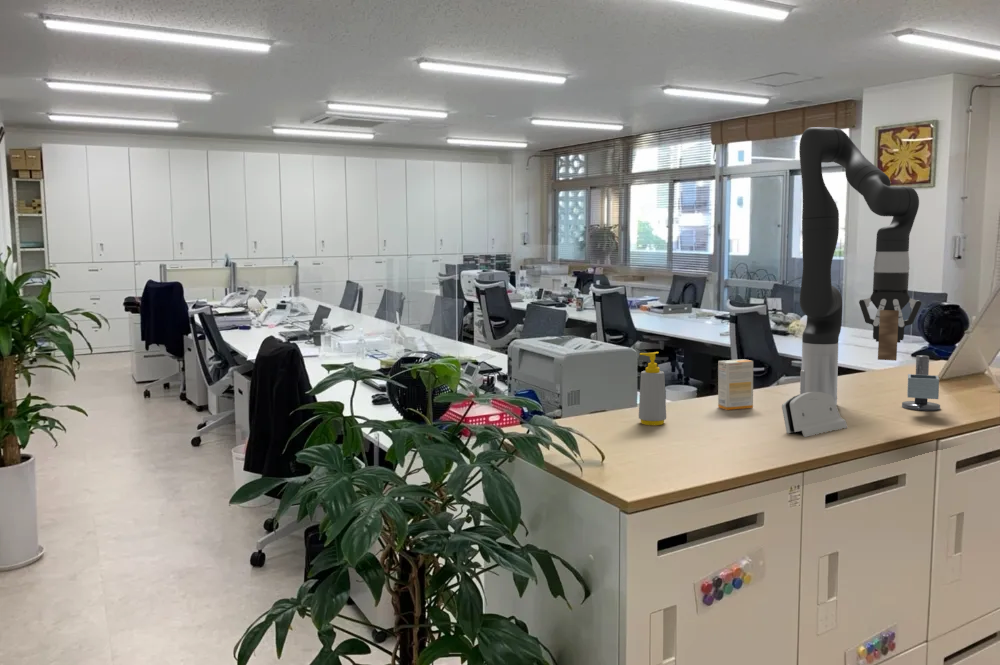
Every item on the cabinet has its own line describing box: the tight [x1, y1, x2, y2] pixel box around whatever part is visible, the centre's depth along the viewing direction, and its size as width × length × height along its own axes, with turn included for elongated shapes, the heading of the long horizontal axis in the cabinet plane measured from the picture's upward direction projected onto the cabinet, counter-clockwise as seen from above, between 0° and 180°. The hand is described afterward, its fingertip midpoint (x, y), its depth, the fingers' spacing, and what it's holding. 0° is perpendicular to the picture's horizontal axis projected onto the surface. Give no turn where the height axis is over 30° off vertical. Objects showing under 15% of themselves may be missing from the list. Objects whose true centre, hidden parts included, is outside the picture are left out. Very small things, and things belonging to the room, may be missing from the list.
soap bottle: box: [638, 351, 667, 426], centre depth 190 cm, size 7×7×18 cm
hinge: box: [781, 392, 848, 438], centre depth 182 cm, size 17×5×10 cm, turn 122°
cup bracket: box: [901, 354, 941, 412], centre depth 200 cm, size 9×19×14 cm, turn 152°
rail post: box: [877, 310, 899, 361], centre depth 185 cm, size 4×4×12 cm
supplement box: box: [717, 358, 754, 411], centre depth 208 cm, size 8×5×13 cm, turn 105°
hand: (887, 341), depth 185 cm, fingers closed on rail post, 4 cm apart
